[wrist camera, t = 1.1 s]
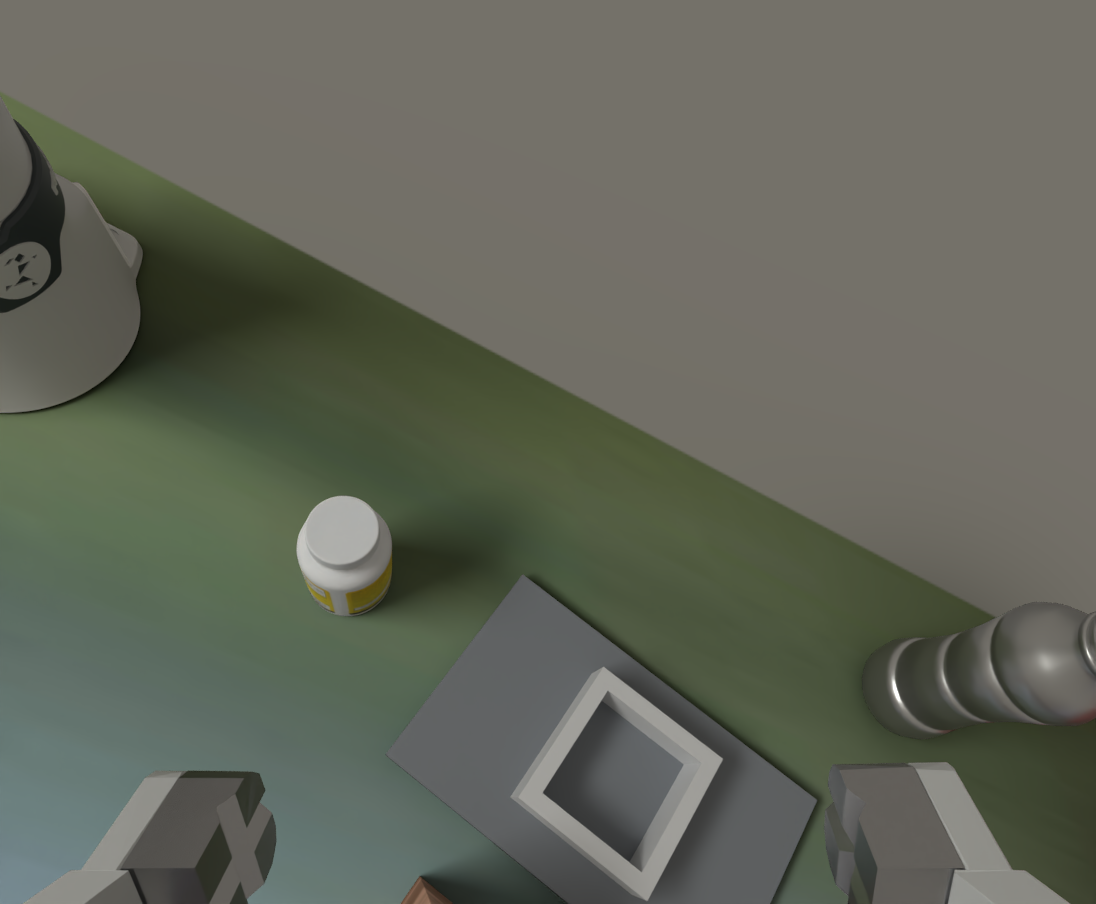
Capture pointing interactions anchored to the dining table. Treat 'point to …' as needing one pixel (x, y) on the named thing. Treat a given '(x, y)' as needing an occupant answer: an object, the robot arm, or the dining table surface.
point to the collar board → (598, 768)
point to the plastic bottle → (988, 674)
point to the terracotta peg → (424, 894)
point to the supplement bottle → (345, 556)
